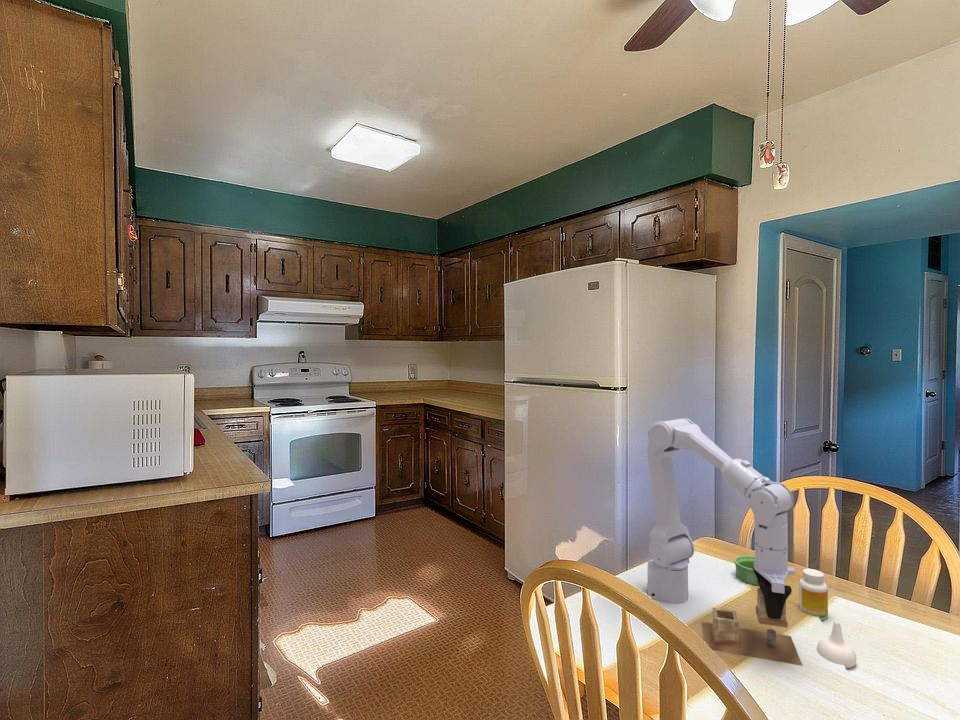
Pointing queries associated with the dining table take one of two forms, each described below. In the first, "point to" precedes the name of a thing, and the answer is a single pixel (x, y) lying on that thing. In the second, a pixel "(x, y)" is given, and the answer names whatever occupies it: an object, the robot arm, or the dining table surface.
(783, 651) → the pin board
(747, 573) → the ramekin
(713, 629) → the seated sleeve
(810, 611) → the supplement bottle
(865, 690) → the dining table surface
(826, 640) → the garlic bulb
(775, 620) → the banded sleeve
